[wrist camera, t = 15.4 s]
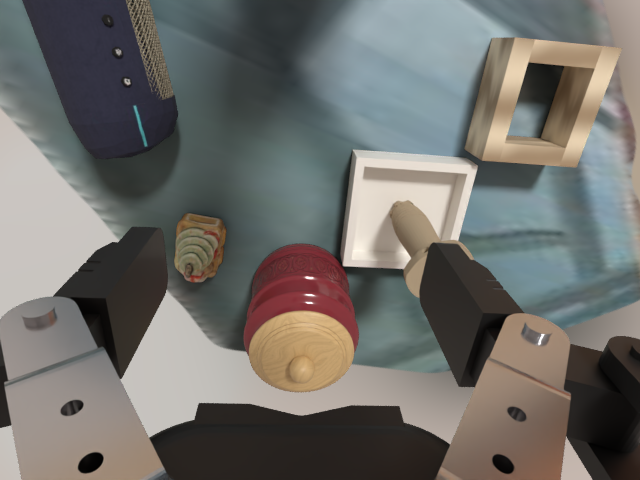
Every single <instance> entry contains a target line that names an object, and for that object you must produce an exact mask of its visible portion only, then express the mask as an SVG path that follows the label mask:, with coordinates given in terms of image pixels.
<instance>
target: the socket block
mask: <svg viewBox="0 0 640 480" xmlns="http://www.w3.org/2000/svg"><path fill="white" fill-rule="evenodd" d="M621 50H622V48H614V47H604V46H594V45H584V44H574V43H564V42H554V41H544V40H534V39H524V38H492V41H491V45H490V49H489V53H488V57H487V61H486V65H485V69H484V73H483V77H482V81H481V85H480V89H479V93H478V97H477V101H476V105H475V109H474V113H473V117H472V121H471V125H470V129H469V133H468V137H467V141H466V145H465V150H466V151H468V152H469V153H471V154H472V155H474V156H476V157H477V158H479V159H480V160H482V161H495V162H509V163H523V164H537V165H551V166H565V167H577V164H578V162H579V159H580V157H581V154H582V151H583V149H584V146H585V143H586V141H587V138H588V136H589V133H590V130H591V128H592V125H593V123H594V120H595V117H596V115H597V112H598V110H599V107H600V104H601V102H602V99H603V97H604V94H605V91H606V89H607V86H608V84H609V81H610V78H611V76H612V73H613V71H614V68H615V65H616V63H617V60H618V57H619V55H620V52H621ZM528 62H530V63H541V64H551V65H562V66H564V69H563V72H562V75H561V78H560V81H559V84H558V87H557V90H556V93H555V96H554V99H553V102H552V105H551V109H550V112H549V115H548V118H547V121H546V124H545V127H544V130H543V133H542V136H541V138H533V137H520V136H507V134H508V130H509V127H510V123H511V120H512V116H513V113H514V110H515V106H516V103H517V99H518V96H519V93H520V89H521V86H522V82H523V79H524V75H525V72H526V69H527V65H528Z"/></svg>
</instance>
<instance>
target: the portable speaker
mask: <svg viewBox="0 0 640 480" xmlns="http://www.w3.org/2000/svg"><path fill="white" fill-rule="evenodd" d="M22 1H23V3H24V6H25V8H26V11H27V14H28V16H29V19H30V21H31V24H32V27H33V29H34V32H35V35H36V37H37V40H38V42H39V45H40V48H41V50H42V53H43V55H44V58H45V61H46V63H47V66H48V69H49V71H50V74H51V76H52V79H53V82H54V84H55V87H56V89H57V92H58V95H59V97H60V100H61V103H62V105H63V108H64V110H65V113H66V116H67V118H68V121H69V123H70V125H71V126H72V128H73V130H74V131H75V133H76V135H77V136H78V138H79V139H80V141H81V143H82V144H83V146H84V147H85V149H87V150H88V151H89V152H90V153H91V154H92V155H93V156H94V157H95V158H99V159H110V158H123V157H132V156H135V155H138V154H141V153H143V152H146V151H149V150H150V149H152V148H153V147H155V146H156V145H157V144H159V143H160V142H161V141H162V140H164V139H165V138H167V137H169V136H170V135H171V134H172V133H173V131H174V127H175V124H176V120H177V117H178V110H177V105H176V100H175V95H174V94H173V90H172V86H171V82H170V78H169V75H168V71H167V67H166V63H165V59H164V55H163V52H162V48H161V44H160V40H159V36H158V32H157V28H156V25H155V21H154V17H153V13H152V9H151V5H150V2H149V0H133V1H134V3H133V2H132V0H22ZM131 4H132V5H131ZM135 4H136V5H135ZM140 5H141V6H140ZM134 6H135V7H136V8H134ZM142 8H143V9H142ZM133 10H134V11H133ZM137 10H138V11H137ZM136 13H137V14H136ZM144 14H145V15H144ZM134 15H135V16H136V17H135V16H134ZM138 17H139V18H138ZM137 18H138V19H137ZM139 20H140V21H139ZM136 23H137V24H136ZM144 24H145V25H144ZM138 26H139V27H138ZM140 27H141V28H140ZM142 29H143V31H142ZM141 32H142V33H143V34H141ZM148 32H149V33H148ZM144 35H145V37H144ZM147 35H148V36H147ZM143 38H145V39H144V40H143ZM145 41H146V42H145ZM151 43H152V44H151ZM147 47H148V48H147ZM155 55H156V56H155ZM154 58H155V59H154ZM156 60H157V61H156ZM158 66H159V67H158Z"/></svg>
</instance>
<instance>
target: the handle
mask: <svg viewBox="0 0 640 480" xmlns="http://www.w3.org/2000/svg"><path fill="white" fill-rule="evenodd" d="M390 218H391V219H392V225H393V228H394V231H395V234H396V236H397V237H398V239H399V241H400V242H401V244H402V245H403V247H404V248H405V250H406V251H407V252H408V254H409V256H410V257H411V259H410V260H409V262H408V263H407V265H406V266H405V268H404V279H405V282H406V284H407V286H408V288H409V290H410V291H411V292H412V293H413V294H414V295H415V296H417V297H419V290H420V284H421V279H422V275H423V271H424V266H425V262H426V258H427V254H428V250H429V247H430V245H431V244H432V243H433V242H435V243H455V244H459V245H460V247H461V248H462V249H463V251H464V252H465V253H466V254H467V256H468V257H469V258H470V259H471V260H474V258H473V256H472V254H471V253H470V252H469V250H468V249H467V248H466V247H465V246H464V245H463V244H462V243H461V242H459V241H456V240H445V241H441V240H440V239H439V237H438V235H437V233H436V232H435V230H434V228H433V226H432V224H431V223H430V221H429V219H428V218H427V217H426V215H425V214H424V213H423V212H422V211H421V210H420V209H419V208H418V207H416V206H415V205H414V204H413V203H412V202H411V201H409V200H407V201H404V202H401V201H396V202H395V203H394V207H393V209H392V210H391V211H390ZM419 298H420V297H419Z"/></svg>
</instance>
